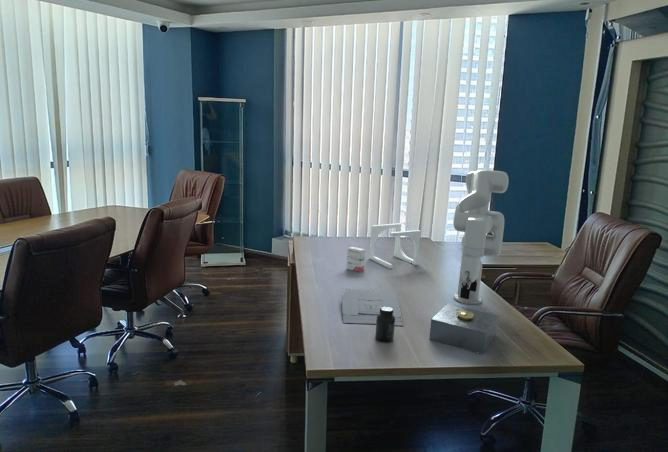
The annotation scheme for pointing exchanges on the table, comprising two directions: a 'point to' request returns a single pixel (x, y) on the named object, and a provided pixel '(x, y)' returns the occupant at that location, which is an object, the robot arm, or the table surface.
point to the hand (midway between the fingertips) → (468, 294)
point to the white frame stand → (398, 250)
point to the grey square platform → (463, 328)
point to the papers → (368, 306)
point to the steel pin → (465, 315)
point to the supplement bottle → (385, 325)
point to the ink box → (355, 259)
